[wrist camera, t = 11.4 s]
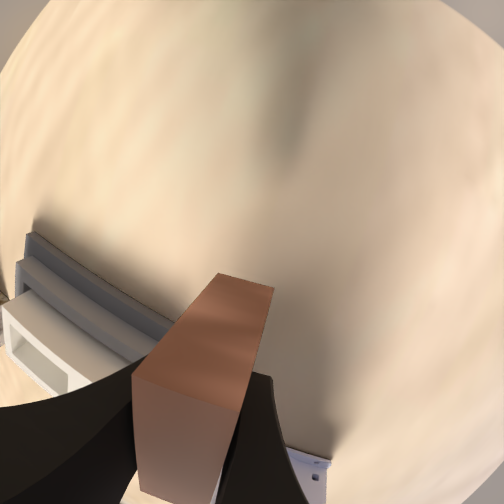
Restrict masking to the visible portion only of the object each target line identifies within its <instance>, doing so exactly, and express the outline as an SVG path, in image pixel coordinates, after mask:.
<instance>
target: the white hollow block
mask: <svg viewBox="0 0 504 504" xmlns="http://www.w3.org/2000/svg"><path fill="white" fill-rule="evenodd" d="M2 320H3V332H4V341H5V349H6V354H7V355H8V356H9V357H10V358H11V359H12V360H13V361H14V362H15V363H16V364H17V365H18V366H19V367H20V368H21V369H22V370H23V371H24V372H25V373H26V374H27V375H28V376H29V377H31V378H32V379H33V380H34V381H35V382H36V383H37V384H38V385H40V386H41V387H42V388H43V389H44V390H45V391H47V392H48V393H49V394H50V395H51V396H53V397H56V396H59V395H63V394H66V393H69V392H71V391H74V390H77V389H79V388H82V387H84V386H87V385H89V384H91V383H94V382H96V381H98V380H100V379H103V378H105V377H107V376H109V375H111V374H113V373H115V372H117V371H119V370H121V369H122V368H124V367H126V366H128V365H130V364H132V362H131V361H129V360H127V359H126V358H124V357H123V356H121V355H120V354H118V353H116V352H115V351H113V350H112V349H110V348H109V347H107V346H106V345H104V344H103V343H101V342H100V341H98V340H97V339H96V338H94V337H93V336H91V335H90V334H88V333H87V332H86V331H84V330H83V329H81V328H80V327H79V326H77V325H76V324H75V323H73V322H72V321H71V320H69V319H68V318H67V317H65V316H64V315H63V314H62V313H60V312H59V311H58V310H56V309H55V308H54V307H53V306H51V305H50V304H49V303H48V302H46V301H45V300H44V299H43V298H42V297H40V296H39V295H38V294H37V293H36V292H35V291H33V290H32V289H30V290H29V291H27V292H25V293H23V294H21V295H19V296H17V297H15V298H14V299H12V300H10V301H8V302H6V303H5V304H3V305H2Z"/></svg>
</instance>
